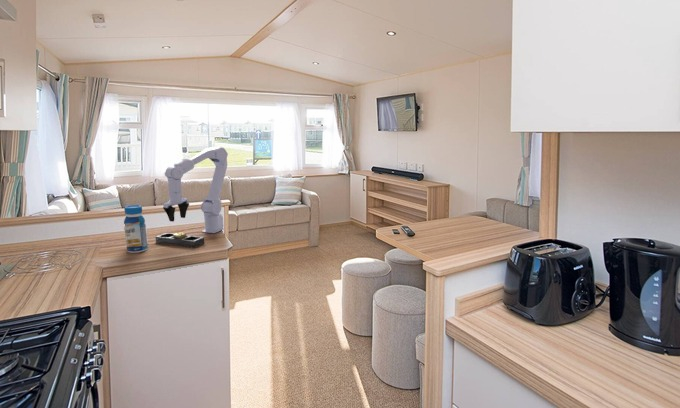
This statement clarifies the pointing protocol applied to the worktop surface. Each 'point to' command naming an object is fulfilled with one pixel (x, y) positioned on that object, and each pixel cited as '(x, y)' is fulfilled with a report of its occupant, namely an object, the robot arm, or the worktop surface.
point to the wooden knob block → (179, 235)
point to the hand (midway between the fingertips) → (177, 219)
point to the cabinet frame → (180, 240)
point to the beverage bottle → (135, 229)
